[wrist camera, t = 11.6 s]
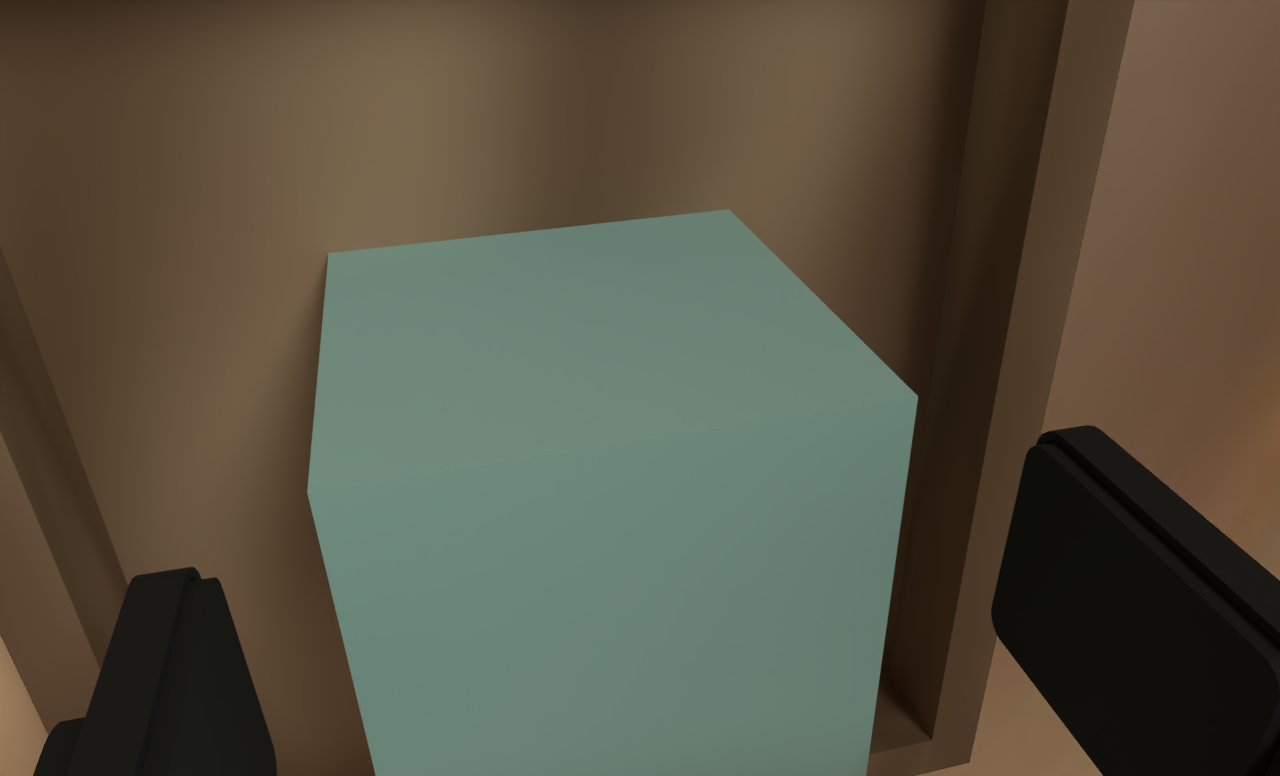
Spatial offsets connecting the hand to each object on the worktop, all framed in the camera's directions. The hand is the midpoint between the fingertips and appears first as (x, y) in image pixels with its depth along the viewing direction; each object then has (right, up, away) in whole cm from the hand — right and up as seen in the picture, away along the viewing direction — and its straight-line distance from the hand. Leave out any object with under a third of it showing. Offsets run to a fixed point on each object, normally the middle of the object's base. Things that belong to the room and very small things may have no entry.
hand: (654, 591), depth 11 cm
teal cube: (-2, +2, +5) cm, 5 cm away
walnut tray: (-2, +2, +5) cm, 6 cm away
